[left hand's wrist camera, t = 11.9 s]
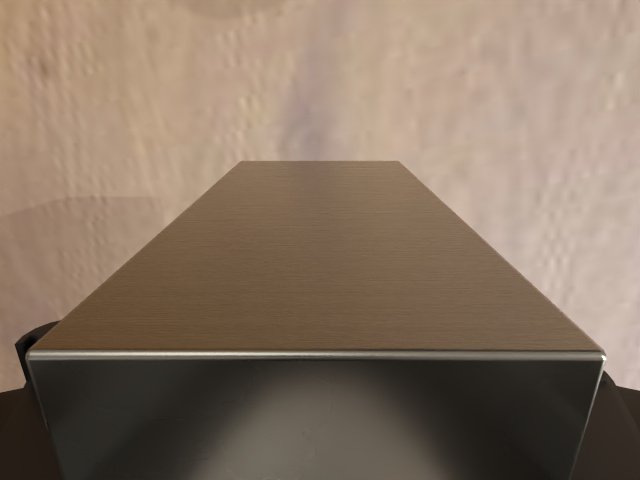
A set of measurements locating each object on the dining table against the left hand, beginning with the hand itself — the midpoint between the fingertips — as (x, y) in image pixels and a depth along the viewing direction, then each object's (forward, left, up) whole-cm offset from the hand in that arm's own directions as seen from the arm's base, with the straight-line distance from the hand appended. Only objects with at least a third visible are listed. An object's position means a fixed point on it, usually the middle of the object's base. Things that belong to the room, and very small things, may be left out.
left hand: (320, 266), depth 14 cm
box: (+7, +2, -3) cm, 7 cm away
